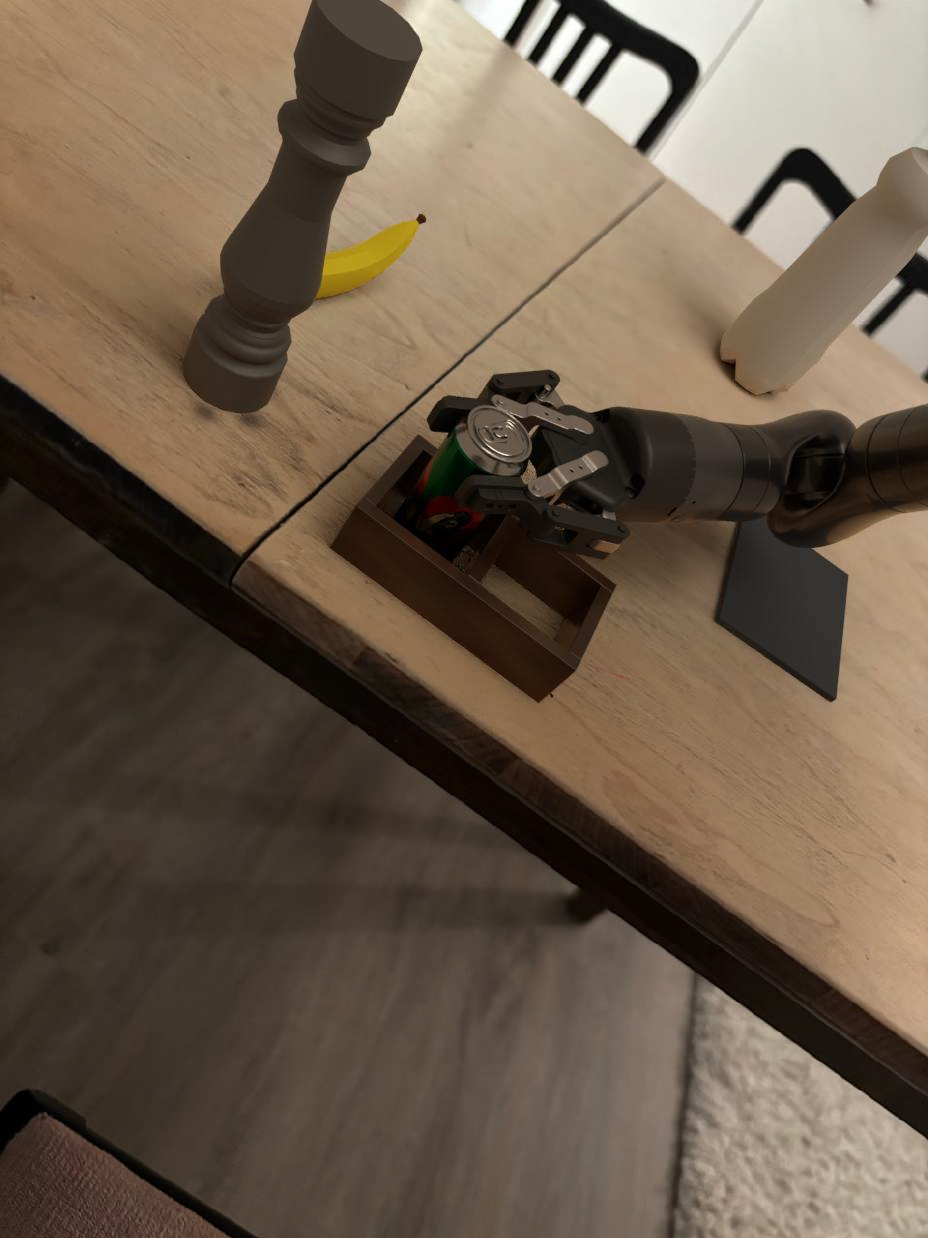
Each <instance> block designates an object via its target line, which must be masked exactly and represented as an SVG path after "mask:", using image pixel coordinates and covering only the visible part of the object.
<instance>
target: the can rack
mask: <svg viewBox="0 0 928 1238" xmlns="http://www.w3.org/2000/svg"><path fill="white" fill-rule="evenodd" d="M438 448H439V447H437V446H436V445H434V444H433V443H431V442H430V441H428V439H426V438H425V437H423V435H421V434H419V433H417V435H416V436H415V437H414V438H413V439H412V440H411V442H410V443H409V444H408V445H407V446H406V447H405V448H404V449H403V451H402V452H401V453H400V454H399V455H398V456H397V458H395V460H394V461H393V462H392V463H391V464H390V465H389V467H388V468H387V469H386V470H385V471H384V472H383V473H382V474H381V476H380V477H379V478H378V479H377V480H376V482H375V483H374V484H372V486H371V487H370V488H369V489H368V490H367V492H366V493H365V494H364V495H363V496H362V498H361V499H360V500H359V501H358V502H357V504H356V505H355V506H354V507H353V509H352V510H351V512H350V514H349V516H348V517H347V519H346V520H345V522H344V523H343V525H342V527H341V529H340V530H339V531H338V533H337V534H336V537H334V539H333V541H332V543H331V545H330V546H329V548H331V549H332V550H333V551H335V552H336V553H337V554H338V555H340V556H341V557H342V558H344V559H345V560H346V561H348V562H349V563H350V564H352V565H353V566H354V567H356V568H357V569H359V570H360V571H361V572H362V573H364V574H365V575H366V576H368V577H369V578H371V580H373V581H375V583H377V584H379V585H380V586H382V588H384V589H386V590H387V591H388V592H389V593H390V594H392V595H394V596H395V597H396V598H398V599H399V600H400V601H401V602H403V603H404V604H406V605H407V606H408V607H410V608H411V609H412V610H414V611H415V612H416V613H418V614H419V615H421V617H423V618H425V619H426V620H427V621H429V622H430V623H431V624H432V625H434V626H435V627H436V628H438V629H439V630H441V631H442V632H443V633H444V634H446V635H447V636H449V637H450V638H452V639H453V640H454V641H456V642H457V643H458V644H459V645H461V646H462V647H463V648H465V649H466V650H468V651H469V652H470V653H472V654H473V656H476V657H477V658H478V659H480V660H481V661H483V662H484V663H485V664H486V665H488V666H489V667H490V668H492V669H493V670H494V671H496V672H497V673H499V674H500V675H501V676H502V677H504V678H505V679H507V680H508V681H509V682H511V683H512V684H513V685H515V686H516V687H517V688H518V689H520V690H522V691H523V692H524V693H526V694H527V695H528V696H529V697H531V698H532V699H533V700H535V701H536V702H538V703H541V702H542V701H543V700H544V699H546V698H547V697H548V696H549V695H550V694H552V692H553V691H555V690H556V689H557V688H558V687H560V686H561V685H562V684H563V683H565V682H566V680H568V679H569V678H570V677H571V676H572V675H574V674H575V673H576V672H577V670H578V668H579V666H580V664H581V662H582V660H583V657H584V655H585V653H586V651H587V650H588V647H589V644H590V643H591V640H592V639H593V636H594V634H595V632H596V630H597V627H598V626H599V624H600V621H601V619H602V617H603V615H604V612H605V611H606V609H607V606H608V604H609V602H610V600H611V598H612V596H613V594H614V592H615V589H616V587H617V584H616V583H615V582H614V581H612V580H611V579H609V578H608V577H607V576H605V575H604V574H603V573H602V572H600V571H599V570H598V569H596V568H595V567H594V566H592V565H591V564H590V563H588V561H587V560H585V559H583V558H582V557H581V556H580V555H579V554H574V553H570V552H566V551H561V550H557V549H552V548H548V547H543V546H539V545H535V544H533V543H531V542H530V541H529V540H528V538H527V536H526V531H527V530H528V528H527V526H526V525H525V524H524V522H523V521H519V520H516V519H514V518H513V517H511V515H508V514H491V515H490V517H489V518H488V519H487V521H486V522H485V523H484V524H483V526H482V527H481V528H480V529H479V531H478V532H477V533H476V534H475V536H474V537H473V538H472V540H471V541H470V542H469V543H468V545H469V546H470V547H471V548H472V549H474V550H475V553H474V554H473V556H472V557H471V559H470V560H469V562H468V563H467V565H466V566H465V568H464V569H463V571H462V569H460V568H458V567H457V566H456V565H454V563H453V564H452V563H450V562H449V561H448V560H446V559H445V558H444V557H442V556H441V555H440V554H438V553H437V552H436V551H434V550H433V549H432V548H431V547H429V546H428V545H427V544H425V543H424V542H423V541H421V540H420V539H419V538H417V537H416V536H415V535H413V534H412V533H411V532H409V531H408V530H407V529H405V528H404V527H403V526H401V525H400V524H399V523H397V522H396V521H395V520H393V519H392V517H391V516H389V515H388V514H387V513H385V512H384V511H383V508H384V507H385V506H386V504H387V503H388V502H389V501H390V500H391V498H392V497H393V496H394V495H395V494H396V492H398V493H400V494H401V495H402V496H404V498H406V496H407V495H408V493H409V492H410V490H411V489H412V487H413V486H414V484H415V482H416V481H417V479H418V478H419V476H420V475H421V473H422V472H423V470H424V469H425V467H426V466H427V464H428V463H429V461H430V460H431V458H432V457H433V455H434V454H435V452H436V451H437V449H438ZM493 565H495V566H497V568H499V569H500V570H502V571H503V572H504V573H506V574H507V575H508V576H510V577H511V578H512V579H513V580H515V581H516V582H518V584H520V585H521V586H523V587H524V588H525V589H527V590H528V591H529V592H531V593H532V594H534V596H536V597H537V598H538V599H540V600H542V601H543V602H544V603H545V604H546V605H548V606H549V607H551V608H552V609H553V610H554V611H556V612H557V613H558V614H560V615H561V616H562V617H564V618H565V620H564V621H563V624H562V625H561V628H560V630H559V632H558V634H557V635H556V637H555V639H553V638H551V636H549V635H548V634H546V633H545V632H544V631H543V630H541V629H540V628H539V627H537V626H536V625H534V624H533V623H532V622H530V620H528V619H527V618H525V617H524V616H522V615H521V614H520V613H519V612H517V611H516V610H515V609H513V608H512V607H510V606H509V605H508V604H506V603H505V602H504V601H502V600H501V599H500V598H498V597H497V596H496V595H495V594H493V593H492V592H491V591H489V590H487V588H485V587H484V586H483V585H481V583H482V582H483V580H484V579H485V577H486V576H487V574H488V573H489V571H490V570H491V568H492V567H493Z"/></svg>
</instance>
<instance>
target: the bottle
mask: <svg viewBox="0 0 928 1238" xmlns="http://www.w3.org/2000/svg"><path fill="white" fill-rule="evenodd" d="M927 237H928V149H926V148H922V147H919V146H911V147H909V148H907V149H905V150H903V151H901V152H898V153H897V154H895V155H893V156H891V157H889V158H888V160H887V161H886V163H885V165H884V166H883V167H882V169H881V170H880V172H879V175H878V177H877V180H876V183H875V185H874V186H873V187H872V188H870V189H869V190H868V191H866V192H865V193H864V194H863V195H861V196H859V198H857V199H856V200H854V201H853V202H852V203H851V204H849V206H848V207H847V208H846V209H845V210H844V211H843V212H842V213H841V214H840V215H839V216H838V217H837V218H836V219H835V220H834V221H833V222H832V223H831V224H830V225H829V226H828V227H827V228H826V229H825V230H824V231H823V232H822V233H821V234H820V235H819V236H818V237H817V238H816V239H815V240H814V241H813V242H812V243H811V244H810V246H808V247H807V248H806V249H805V250H804V251H803V252H802V253H801V255H799V256H798V257H797V258H796V259H795V261H793V262H792V263H791V264H790V265H789V266H788V268H786V270H785V271H783V273H782V274H781V275H779V276H778V278H777V279H775V280H774V281H773V283H772V284H771V285H769V287H768V288H766V289H765V290H764V291H762V292H761V293H759V294H758V295H756V297H754V299H753V300H751V302H749V304H748V305H747V306H746V307H745V308H744V309H743V311H742V312H741V313H740V314H739V315H738V316H737V317H736V318H735V320H734V321H733V322H732V323H731V324H730V325H729V326H728V327H727V328H726V329H725V331H724V333H723V334H722V336H721V340H720V346H719V357H720V360H721V361H723V362H725V363H728V364H731V365H733V364H735V373H734V377H735V378H734V381H735V382H736V383H738V384H739V385H740V386H741V387H742V388H744V389H745V390H746V391H748V392H750V393H751V394H753V395H754V396H759V395H762V394H764V393H768V392H769V393H770V394H771V395H774V394H780V393H784V392H789V390H791V389H792V387H793V386H794V385H795V384H796V383H797V382H799V381H800V380H801V378H803V377H804V376H805V375H806V374H807V373H808V372H809V371H810V370H811V369H812V368H814V366H815V365H817V364H818V363H819V362H820V360H821V359H822V357H823V356H824V355H825V353H826V352H827V350H828V349H829V347H830V346H832V344H833V343H834V342H835V341H836V340H837V339H838V338H839V337H840V335H842V333H843V332H845V330H846V329H847V328H848V327H849V326H850V325H851V324H852V323H853V322H854V321H855V320H856V318H857V317H858V316H860V314H861V313H862V312H863V311H864V310H865V309H866V308H867V307H868V306H869V305H870V304H871V303H872V302H873V300H874V299H876V298H877V296H878V295H879V294H880V293H881V292H882V291H883V290H884V289H885V288H886V287H887V286H888V285H889V283H891V282H892V281H893V279H895V277H896V276H897V275H898V274H899V273H900V272H901V271H902V270H903V269H904V267H905V266H907V264H908V263H909V262H910V261H911V260H912V258H913V257H914V256H915V254H916V253H917V252H918V250H919V249H920V248H921V246H922V245H923V243H924V242H925V240H926V239H927Z"/></svg>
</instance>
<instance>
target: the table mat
mask: <svg viewBox="0 0 928 1238" xmlns="http://www.w3.org/2000/svg"><path fill="white" fill-rule="evenodd" d="M849 576H850V575H849V574H848V573H847V572H846V571H844V570H842V568H840V567H839V566H837V565H836V564H834V563H833V562H831V561H830V560H828V558H826V557H825V556H823V555H821V554H820V553H819V552H818V551H816V550H815V549H814V548H796V547H792V546H789V545H786V544H784V543H783V542H781V541H780V540H778V539H777V538H776V537H775V536H774V535H773V534H772V533H771V531H770V530H769V528H768V525H767V521H766V516H764V517H762V518H760V519H757V520H753V521H747V522H737V527H736V531H735V537H734V540H733V544H732V549H731V553H730V557H729V562H728V566H727V570H726V575H725V578H724V583H723V587H722V592H721V595H720V600H719V604H718V608H717V613H716V617H715V622H716V623H717V624H719V625H720V626H722V628H724V629H726V630H727V631H729V632H730V633H731V634H733V635H734V636H736V637H737V638H739V639H740V640H742V641H743V642H745V644H747V645H748V646H750V647H752V648H753V649H755V650H756V651H757V652H759V653H761V654H762V655H763V656H765V657H766V658H768V659H769V660H770V661H772V663H774V664H776V665H777V666H779V667H781V669H783V670H784V671H786V672H787V673H789V674H790V675H792V676H793V677H794V678H796V679H797V680H799V681H801V682H802V683H803V684H804V685H806V686H807V687H809V688H810V689H812V691H813V690H814V692H816V693H817V694H819V695H820V696H821V697H823V698H825V699H826V700H828V701H829V702H830V703H833V702H834V701H836V700H837V699H838V688H839V679H840V678H839V677H840V667H841V658H842V655H841V654H842V647H843V635H844V628H845V627H844V625H845V615H846V605H847V595H848V586H849V585H848V584H849Z"/></svg>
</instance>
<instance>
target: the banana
mask: <svg viewBox="0 0 928 1238" xmlns="http://www.w3.org/2000/svg"><path fill="white" fill-rule="evenodd" d="M425 223H427V217H426V215H424V213H418V215H417V217H416V218H415V219H412V220H411V219H410V220H407V221H401V222H399V223H396V224H394V225H391V226H389V227H387V228H385V229H383V230H381V231H380V232H378V233H376V234H374V235H373V236H371V237H369V238H367V239H366V240H364V241H362V242H361V243H358V244H356V245H353V246H351V247H347V248H344V249H339V250H336V251H335V250H334V251H330V252H326V254H325V260H324V267H323V274H322V281H321V287H320V289H319V291H318V293H317V295H316V298H315V299H322V298H328V297H333V296H336V295H341V294H344V293H347V292H350V291H352V290H355V289H357V288H359V287H362V286H363V285H365V284H367V283H368V282H371V281H372V280H374V279H375V278H376V277H378V276H380V275H381V274H382V273H383V272H384V271H386V270H387V269H388V268H389V267H391V266H393V264H394V263H395V262H396V261H398V260H399V258H400V257H401V256H402V255H403V254H404V252H405V251H406V250H407V249H408V247H410V245H411V244H412V242H413V240H414V238H415V236H416V234H417V232H418V229H419V227H420V225H422V224H425Z"/></svg>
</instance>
